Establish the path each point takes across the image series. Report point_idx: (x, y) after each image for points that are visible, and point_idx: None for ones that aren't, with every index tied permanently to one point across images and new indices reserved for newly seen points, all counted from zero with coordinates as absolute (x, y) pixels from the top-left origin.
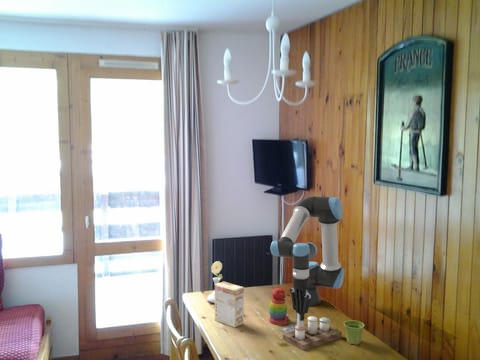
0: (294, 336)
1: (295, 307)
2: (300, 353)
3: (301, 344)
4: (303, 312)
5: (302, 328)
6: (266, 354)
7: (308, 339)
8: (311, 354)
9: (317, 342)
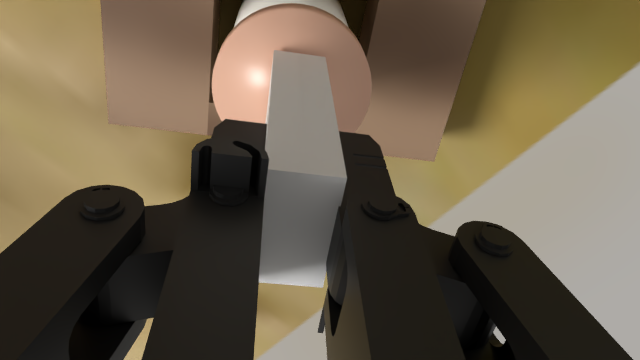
0: (213, 45)
1: (116, 313)
2: (431, 187)
3: (407, 156)
4: (466, 350)
5: (353, 110)
6: (257, 343)
7: (404, 17)
8: (517, 138)
9: None
